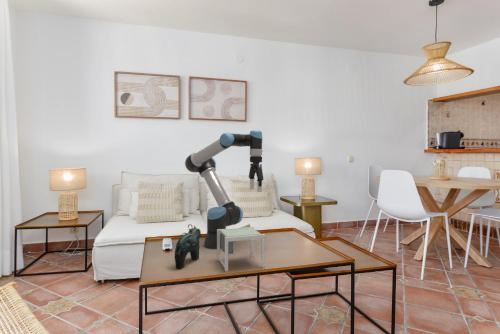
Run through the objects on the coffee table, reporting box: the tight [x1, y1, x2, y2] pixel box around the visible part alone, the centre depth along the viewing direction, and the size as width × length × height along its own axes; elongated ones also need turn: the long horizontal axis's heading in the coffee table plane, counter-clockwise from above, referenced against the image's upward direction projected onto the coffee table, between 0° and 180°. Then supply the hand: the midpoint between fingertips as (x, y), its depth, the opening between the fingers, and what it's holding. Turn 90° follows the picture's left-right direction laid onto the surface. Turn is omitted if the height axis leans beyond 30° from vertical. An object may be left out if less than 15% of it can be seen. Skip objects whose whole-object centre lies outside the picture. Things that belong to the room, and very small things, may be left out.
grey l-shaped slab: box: [220, 228, 261, 255], centre depth 164 cm, size 18×14×9 cm
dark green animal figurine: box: [174, 223, 202, 270], centre depth 164 cm, size 20×6×20 cm, turn 159°
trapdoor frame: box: [216, 226, 266, 272], centre depth 164 cm, size 20×18×16 cm
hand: (255, 190), depth 194 cm, fingers open, 13 cm apart
